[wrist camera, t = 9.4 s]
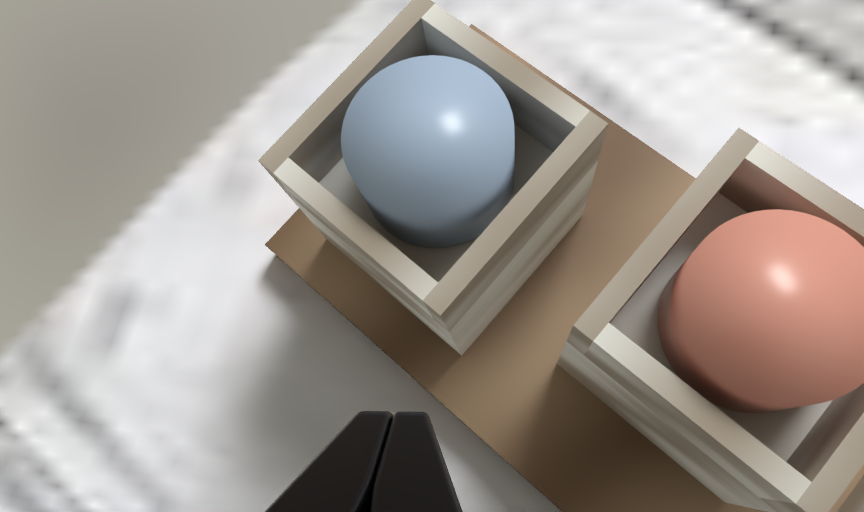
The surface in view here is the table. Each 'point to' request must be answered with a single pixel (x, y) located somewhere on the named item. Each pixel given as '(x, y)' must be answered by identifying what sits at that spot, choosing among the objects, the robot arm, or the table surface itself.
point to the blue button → (431, 149)
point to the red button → (768, 313)
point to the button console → (568, 297)
